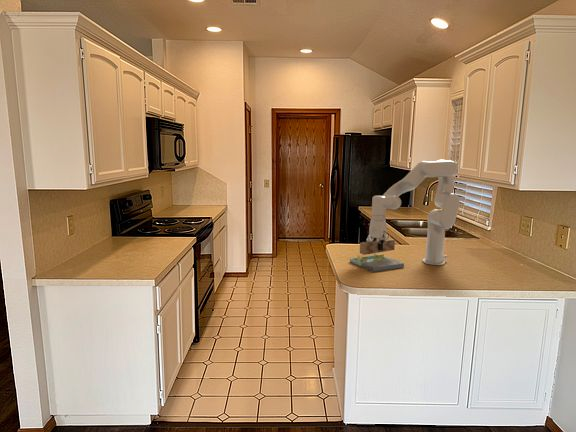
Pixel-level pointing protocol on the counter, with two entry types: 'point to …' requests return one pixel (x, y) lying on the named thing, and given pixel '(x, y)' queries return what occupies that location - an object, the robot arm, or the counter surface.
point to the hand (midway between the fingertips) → (377, 248)
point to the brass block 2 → (378, 256)
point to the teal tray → (369, 259)
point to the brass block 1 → (362, 258)
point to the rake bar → (376, 246)
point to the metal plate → (382, 265)
